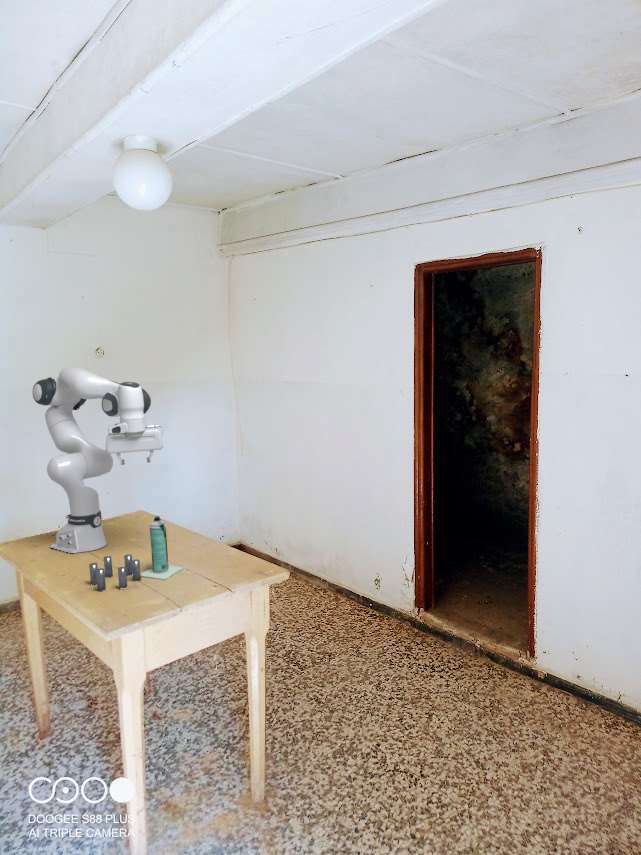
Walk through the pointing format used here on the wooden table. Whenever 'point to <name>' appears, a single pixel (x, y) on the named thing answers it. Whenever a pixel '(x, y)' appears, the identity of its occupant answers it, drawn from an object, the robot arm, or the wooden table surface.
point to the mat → (161, 576)
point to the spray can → (159, 546)
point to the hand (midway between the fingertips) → (135, 463)
